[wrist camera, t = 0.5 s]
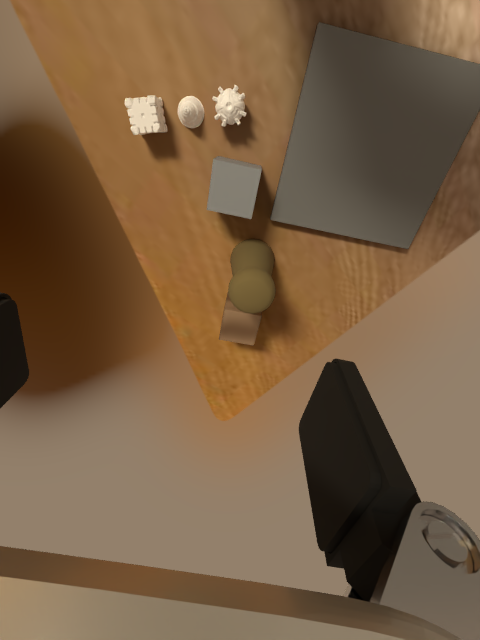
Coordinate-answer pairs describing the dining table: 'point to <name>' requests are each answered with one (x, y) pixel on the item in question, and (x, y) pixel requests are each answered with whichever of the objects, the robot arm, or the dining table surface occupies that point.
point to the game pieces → (183, 111)
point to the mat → (373, 136)
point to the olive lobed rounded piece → (252, 276)
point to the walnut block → (239, 325)
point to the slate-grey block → (233, 187)
